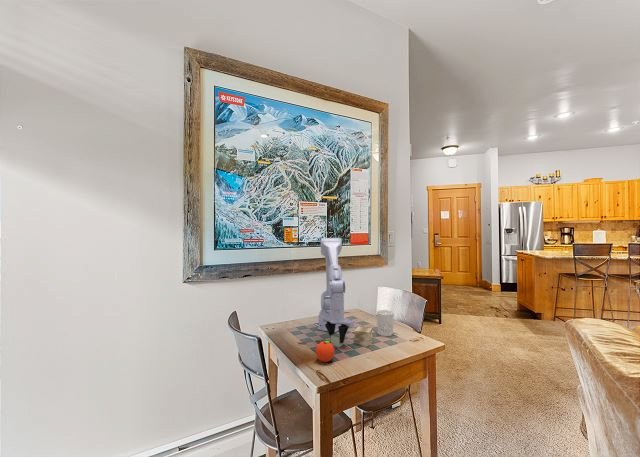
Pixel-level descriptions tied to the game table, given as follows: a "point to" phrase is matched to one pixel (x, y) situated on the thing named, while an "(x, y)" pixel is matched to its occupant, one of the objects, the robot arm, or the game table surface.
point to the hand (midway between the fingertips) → (337, 341)
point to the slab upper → (363, 332)
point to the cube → (336, 340)
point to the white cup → (385, 322)
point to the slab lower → (363, 341)
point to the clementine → (325, 351)
